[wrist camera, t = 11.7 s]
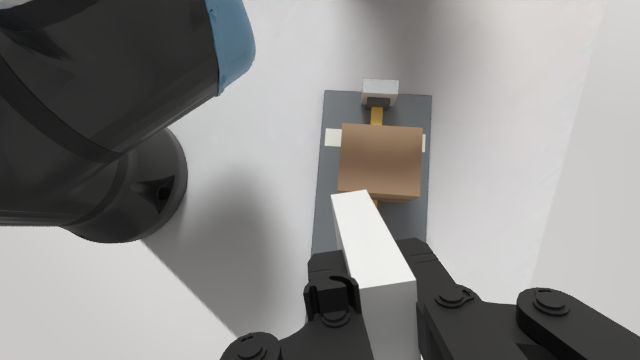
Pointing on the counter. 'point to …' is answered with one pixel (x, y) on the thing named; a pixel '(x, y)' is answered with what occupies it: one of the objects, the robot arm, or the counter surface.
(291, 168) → the counter surface
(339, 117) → the sliding block track
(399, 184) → the cardboard box
